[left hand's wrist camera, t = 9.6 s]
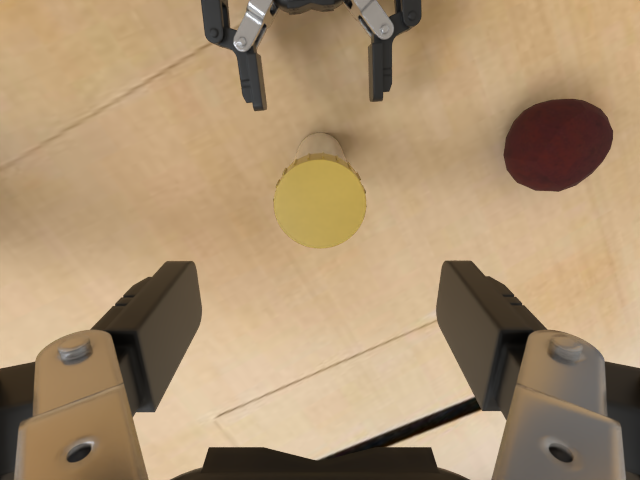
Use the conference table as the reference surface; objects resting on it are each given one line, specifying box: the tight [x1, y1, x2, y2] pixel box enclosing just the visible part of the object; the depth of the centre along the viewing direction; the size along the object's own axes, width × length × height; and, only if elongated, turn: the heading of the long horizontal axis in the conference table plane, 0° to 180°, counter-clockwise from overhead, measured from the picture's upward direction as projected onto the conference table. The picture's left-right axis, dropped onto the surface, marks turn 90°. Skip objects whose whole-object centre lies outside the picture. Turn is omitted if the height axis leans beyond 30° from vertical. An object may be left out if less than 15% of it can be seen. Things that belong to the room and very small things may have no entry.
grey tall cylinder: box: [293, 133, 347, 162], centre depth 27 cm, size 4×4×16 cm
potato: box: [504, 99, 613, 192], centre depth 31 cm, size 7×8×7 cm
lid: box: [273, 152, 366, 248], centre depth 20 cm, size 5×5×2 cm
